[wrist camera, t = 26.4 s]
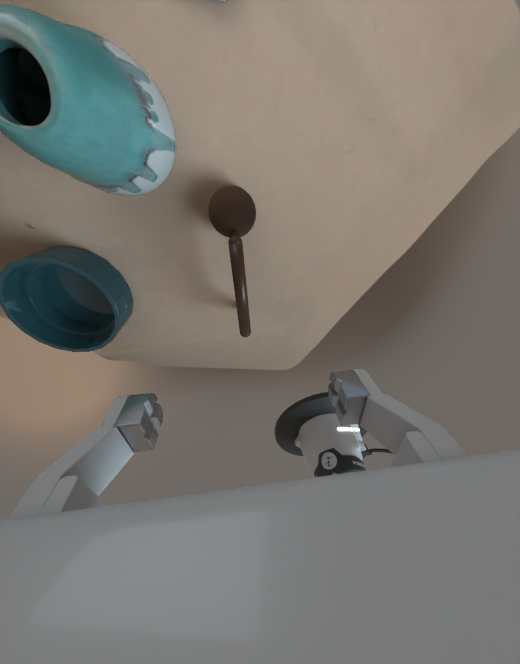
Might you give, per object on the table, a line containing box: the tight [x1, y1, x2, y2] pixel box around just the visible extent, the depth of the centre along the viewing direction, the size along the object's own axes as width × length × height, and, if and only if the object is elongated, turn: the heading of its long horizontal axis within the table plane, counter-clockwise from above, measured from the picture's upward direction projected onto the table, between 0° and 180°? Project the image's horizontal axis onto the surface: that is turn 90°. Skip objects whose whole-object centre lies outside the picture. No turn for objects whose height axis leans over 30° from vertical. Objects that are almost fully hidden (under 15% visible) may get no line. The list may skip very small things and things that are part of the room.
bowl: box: [0, 247, 133, 352], centre depth 34 cm, size 14×14×6 cm
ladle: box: [209, 186, 256, 337], centre depth 32 cm, size 19×6×9 cm, turn 3°
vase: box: [0, 5, 176, 196], centre depth 20 cm, size 12×12×18 cm
